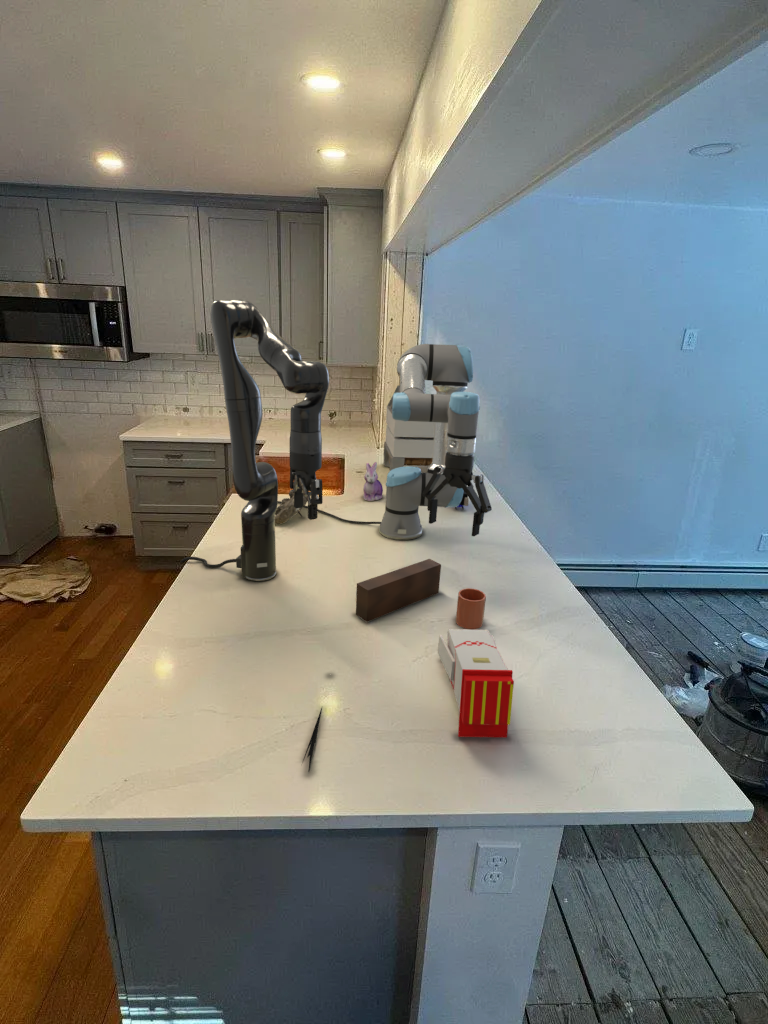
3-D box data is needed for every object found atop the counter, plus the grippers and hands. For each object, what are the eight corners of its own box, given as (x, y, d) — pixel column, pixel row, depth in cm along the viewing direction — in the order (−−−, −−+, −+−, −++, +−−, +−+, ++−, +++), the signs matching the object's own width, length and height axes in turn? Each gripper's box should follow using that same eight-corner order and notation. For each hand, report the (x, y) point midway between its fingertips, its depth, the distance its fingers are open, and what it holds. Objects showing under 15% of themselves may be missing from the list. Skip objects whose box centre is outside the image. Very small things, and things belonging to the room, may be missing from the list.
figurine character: (468, 514, 225) (463, 498, 239) (470, 497, 222) (465, 482, 235) (451, 514, 225) (447, 498, 238) (453, 497, 222) (449, 481, 235)
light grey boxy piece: (382, 463, 289) (386, 382, 275) (445, 464, 293) (451, 384, 279) (390, 482, 257) (394, 392, 243) (460, 483, 261) (468, 394, 247)
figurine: (367, 502, 230) (368, 467, 225) (357, 495, 238) (358, 460, 233) (388, 500, 234) (389, 465, 229) (377, 492, 242) (378, 458, 237)
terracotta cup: (450, 620, 145) (452, 593, 143) (467, 612, 150) (470, 585, 147) (470, 632, 141) (473, 603, 138) (488, 623, 145) (491, 596, 142)
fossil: (278, 495, 221) (307, 474, 216) (294, 513, 224) (323, 493, 219) (262, 520, 201) (293, 498, 196) (280, 540, 204) (311, 518, 199)
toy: (488, 613, 130) (523, 677, 101) (484, 667, 133) (517, 744, 104) (435, 612, 130) (455, 676, 101) (432, 666, 133) (451, 743, 103)
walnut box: (366, 622, 143) (368, 590, 140) (355, 614, 146) (356, 583, 143) (438, 593, 159) (441, 564, 156) (427, 587, 162) (429, 558, 159)
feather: (331, 679, 122) (336, 673, 122) (307, 777, 96) (313, 769, 95) (324, 675, 122) (329, 669, 121) (298, 772, 95) (304, 764, 95)
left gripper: (279, 443, 137) (280, 506, 142) (302, 457, 125) (302, 525, 131) (308, 440, 141) (307, 502, 146) (333, 454, 129) (332, 520, 135)
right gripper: (412, 446, 152) (408, 520, 159) (496, 464, 138) (487, 544, 145) (428, 442, 158) (423, 514, 165) (510, 458, 144) (500, 536, 151)
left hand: (305, 513), depth 139 cm, fingers open, 8 cm apart
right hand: (453, 528), depth 155 cm, fingers open, 13 cm apart
